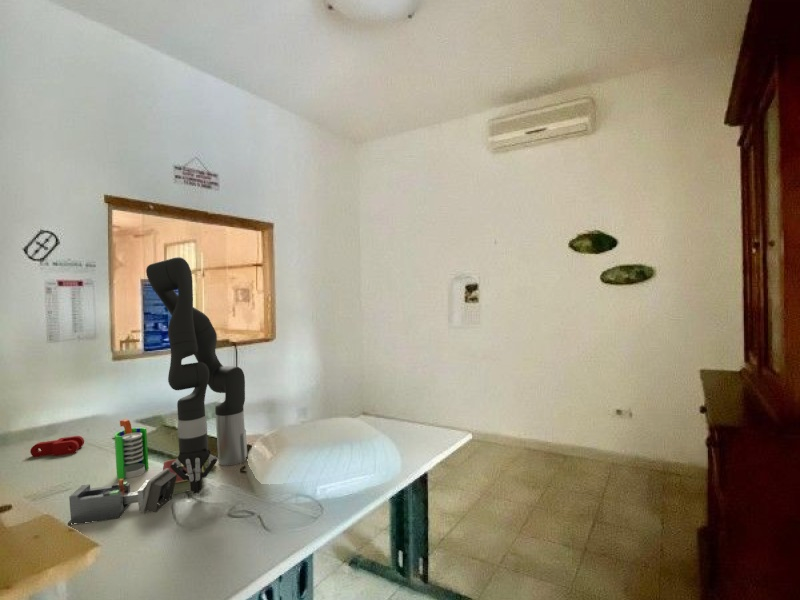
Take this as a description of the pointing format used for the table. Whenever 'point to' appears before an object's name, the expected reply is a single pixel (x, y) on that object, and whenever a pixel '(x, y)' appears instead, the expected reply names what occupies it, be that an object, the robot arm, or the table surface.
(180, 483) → the hardcover book
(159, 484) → the electrical switch
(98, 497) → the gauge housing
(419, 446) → the table surface
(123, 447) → the green-shelled ribbed roller
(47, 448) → the mechanical linkage
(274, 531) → the table surface
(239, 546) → the table surface
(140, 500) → the plunger
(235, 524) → the table surface
